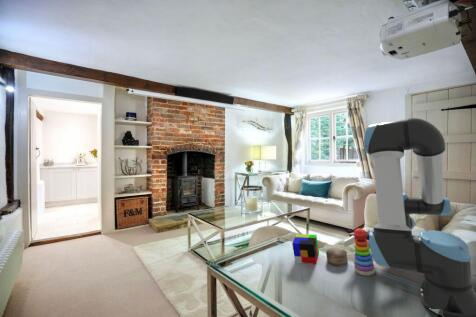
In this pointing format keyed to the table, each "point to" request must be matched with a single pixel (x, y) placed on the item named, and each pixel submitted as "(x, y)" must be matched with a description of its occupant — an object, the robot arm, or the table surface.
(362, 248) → the stacking toy
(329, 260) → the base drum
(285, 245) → the table surface
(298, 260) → the puzzle toy
